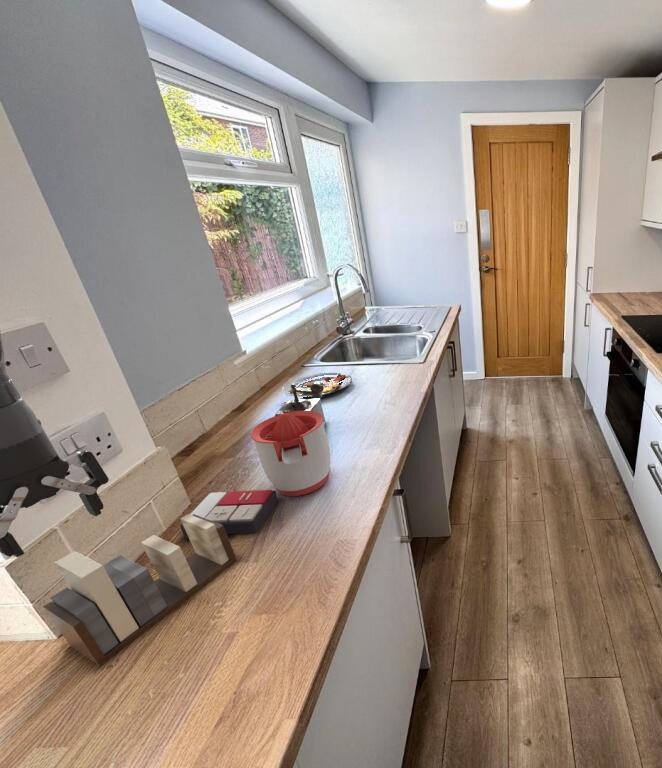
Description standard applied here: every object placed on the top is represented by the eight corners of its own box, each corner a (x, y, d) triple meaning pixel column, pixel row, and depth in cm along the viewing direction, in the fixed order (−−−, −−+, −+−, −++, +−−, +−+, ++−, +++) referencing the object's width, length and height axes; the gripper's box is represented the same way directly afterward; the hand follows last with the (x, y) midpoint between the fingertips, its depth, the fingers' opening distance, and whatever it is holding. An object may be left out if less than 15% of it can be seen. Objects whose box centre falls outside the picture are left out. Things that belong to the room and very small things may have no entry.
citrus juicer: (268, 515, 92) (242, 440, 84) (271, 475, 107) (249, 408, 99) (340, 494, 99) (323, 422, 91) (334, 459, 113) (318, 394, 105)
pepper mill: (280, 443, 122) (263, 389, 115) (294, 425, 132) (279, 374, 125) (333, 439, 123) (320, 385, 116) (342, 421, 133) (331, 371, 126)
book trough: (69, 645, 65) (39, 601, 61) (208, 547, 84) (192, 509, 80) (100, 666, 62) (69, 622, 58) (237, 560, 80) (221, 521, 77)
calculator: (252, 519, 86) (177, 522, 85) (257, 535, 88) (183, 538, 86) (275, 487, 96) (208, 489, 95) (279, 502, 98) (213, 504, 96)
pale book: (94, 624, 67) (53, 562, 62) (112, 611, 70) (75, 550, 64) (120, 641, 64) (81, 578, 59) (139, 628, 67) (102, 565, 61)
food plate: (361, 377, 170) (359, 369, 169) (337, 401, 149) (335, 392, 147) (303, 377, 171) (301, 370, 170) (271, 401, 150) (269, 393, 149)
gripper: (58, 409, 60) (105, 497, 67) (-102, 461, 48) (-25, 562, 55) (84, 417, 57) (131, 508, 64) (-78, 474, 45) (0, 578, 52)
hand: (59, 533), depth 59 cm, fingers open, 8 cm apart
